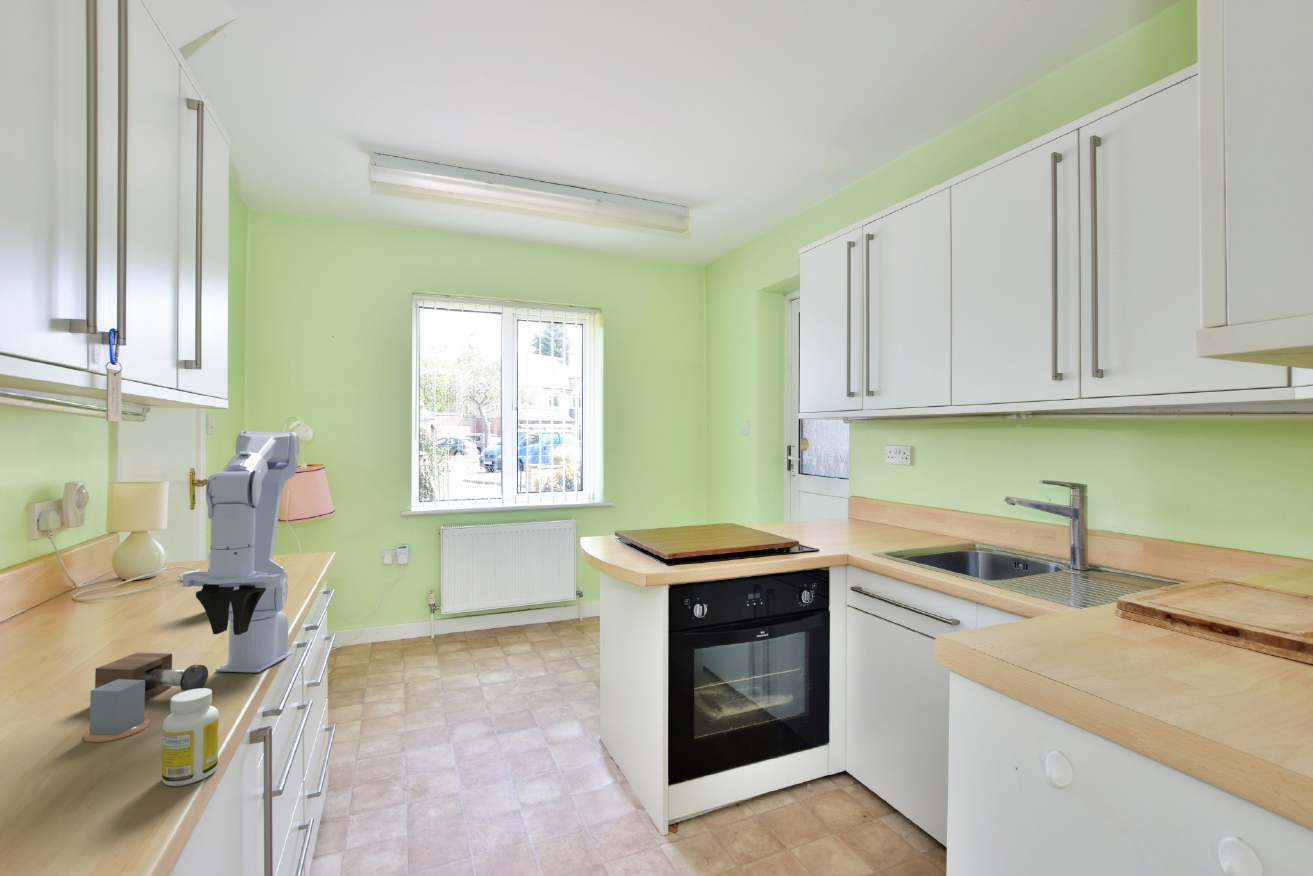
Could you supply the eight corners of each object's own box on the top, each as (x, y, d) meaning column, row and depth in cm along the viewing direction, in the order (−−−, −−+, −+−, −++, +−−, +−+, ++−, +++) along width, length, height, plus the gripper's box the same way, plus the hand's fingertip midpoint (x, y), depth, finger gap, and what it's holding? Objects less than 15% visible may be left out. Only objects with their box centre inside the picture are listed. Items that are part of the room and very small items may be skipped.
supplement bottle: (210, 758, 76) (212, 682, 76) (223, 773, 73) (225, 693, 73) (156, 776, 72) (158, 695, 72) (167, 793, 69) (169, 708, 69)
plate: (117, 718, 87) (117, 716, 87) (161, 719, 86) (162, 717, 86) (69, 741, 80) (69, 739, 80) (117, 743, 80) (117, 741, 80)
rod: (157, 684, 96) (158, 659, 96) (207, 686, 96) (208, 661, 96) (135, 694, 92) (135, 669, 92) (187, 696, 92) (188, 670, 92)
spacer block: (117, 721, 85) (118, 679, 85) (143, 722, 85) (145, 680, 85) (89, 734, 81) (90, 690, 81) (117, 735, 81) (118, 691, 81)
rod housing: (136, 685, 98) (137, 652, 98) (171, 687, 98) (172, 653, 98) (94, 704, 91) (95, 668, 91) (132, 705, 91) (133, 669, 91)
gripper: (166, 550, 90) (164, 639, 90) (259, 552, 90) (257, 642, 90) (203, 542, 97) (201, 625, 97) (289, 544, 97) (287, 628, 97)
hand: (230, 632), depth 94 cm, fingers open, 3 cm apart
